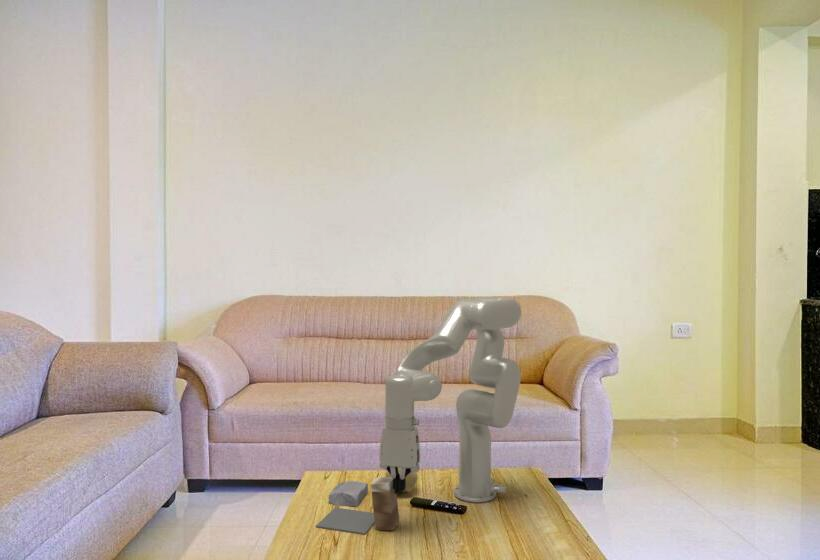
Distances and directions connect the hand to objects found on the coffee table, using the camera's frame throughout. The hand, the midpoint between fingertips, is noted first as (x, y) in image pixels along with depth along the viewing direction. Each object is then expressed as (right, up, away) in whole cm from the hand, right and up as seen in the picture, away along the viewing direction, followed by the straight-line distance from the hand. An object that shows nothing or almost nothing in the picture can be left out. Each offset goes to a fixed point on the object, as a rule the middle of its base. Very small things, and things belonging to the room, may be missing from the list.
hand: (399, 492), depth 150 cm
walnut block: (-3, -10, +1) cm, 10 cm away
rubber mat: (-14, -10, +5) cm, 17 cm away
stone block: (-16, -10, +20) cm, 27 cm away
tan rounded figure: (0, -9, +25) cm, 27 cm away
